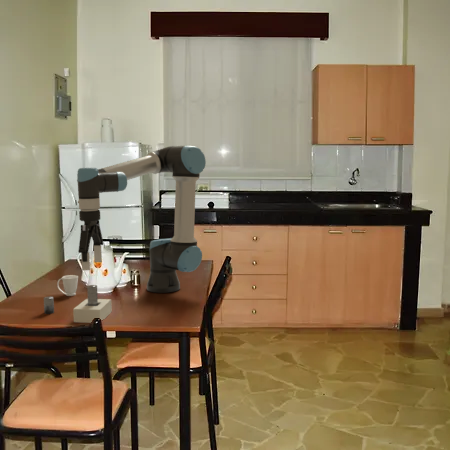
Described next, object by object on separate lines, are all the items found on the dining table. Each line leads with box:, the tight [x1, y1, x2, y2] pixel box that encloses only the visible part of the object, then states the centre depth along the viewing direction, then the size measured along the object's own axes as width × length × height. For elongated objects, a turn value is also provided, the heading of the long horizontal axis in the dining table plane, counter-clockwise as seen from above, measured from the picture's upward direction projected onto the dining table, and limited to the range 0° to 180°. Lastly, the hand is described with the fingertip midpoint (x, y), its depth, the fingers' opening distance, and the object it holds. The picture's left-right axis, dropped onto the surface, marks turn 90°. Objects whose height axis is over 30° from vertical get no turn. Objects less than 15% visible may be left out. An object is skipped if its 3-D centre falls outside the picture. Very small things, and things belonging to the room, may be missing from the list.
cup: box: [56, 274, 79, 297], centre depth 237 cm, size 7×10×8 cm
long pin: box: [86, 284, 99, 306], centre depth 204 cm, size 4×4×12 cm
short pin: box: [43, 295, 55, 315], centre depth 210 cm, size 4×4×6 cm
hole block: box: [72, 298, 113, 324], centre depth 204 cm, size 10×14×5 cm
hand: (92, 266), depth 202 cm, fingers open, 13 cm apart
